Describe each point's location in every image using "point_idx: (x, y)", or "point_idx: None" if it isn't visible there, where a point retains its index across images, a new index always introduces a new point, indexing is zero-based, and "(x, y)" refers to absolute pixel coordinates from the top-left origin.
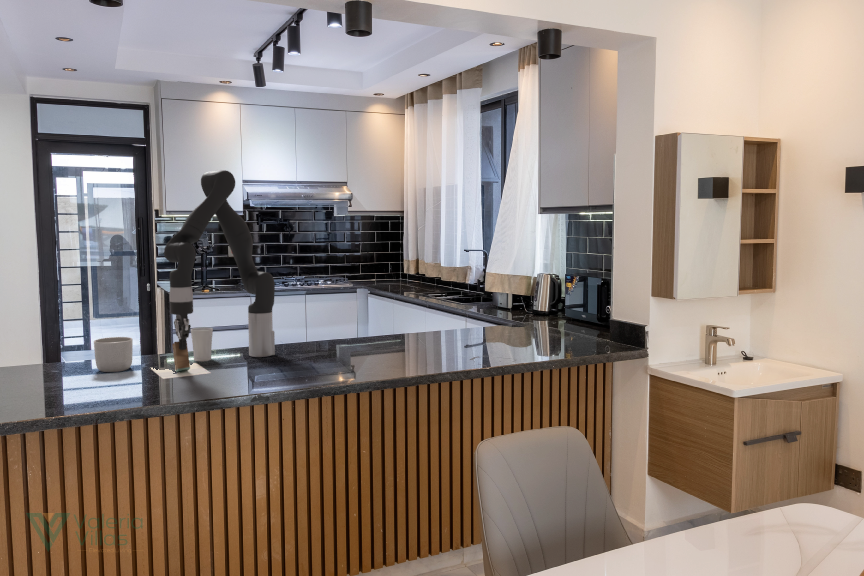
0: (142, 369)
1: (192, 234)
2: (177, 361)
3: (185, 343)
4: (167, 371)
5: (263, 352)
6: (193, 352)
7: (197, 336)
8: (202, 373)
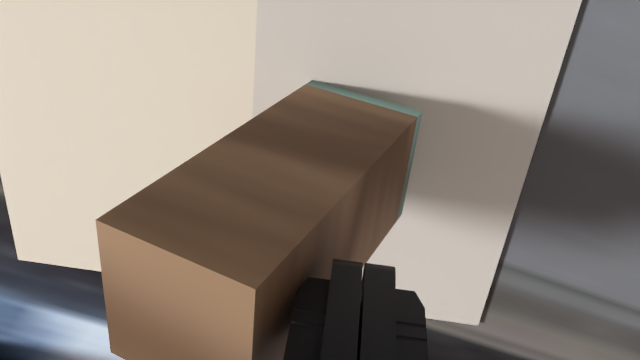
0: (33, 300)
1: None
2: (369, 256)
3: (424, 350)
4: None
5: None
6: None
7: None
8: (548, 10)
